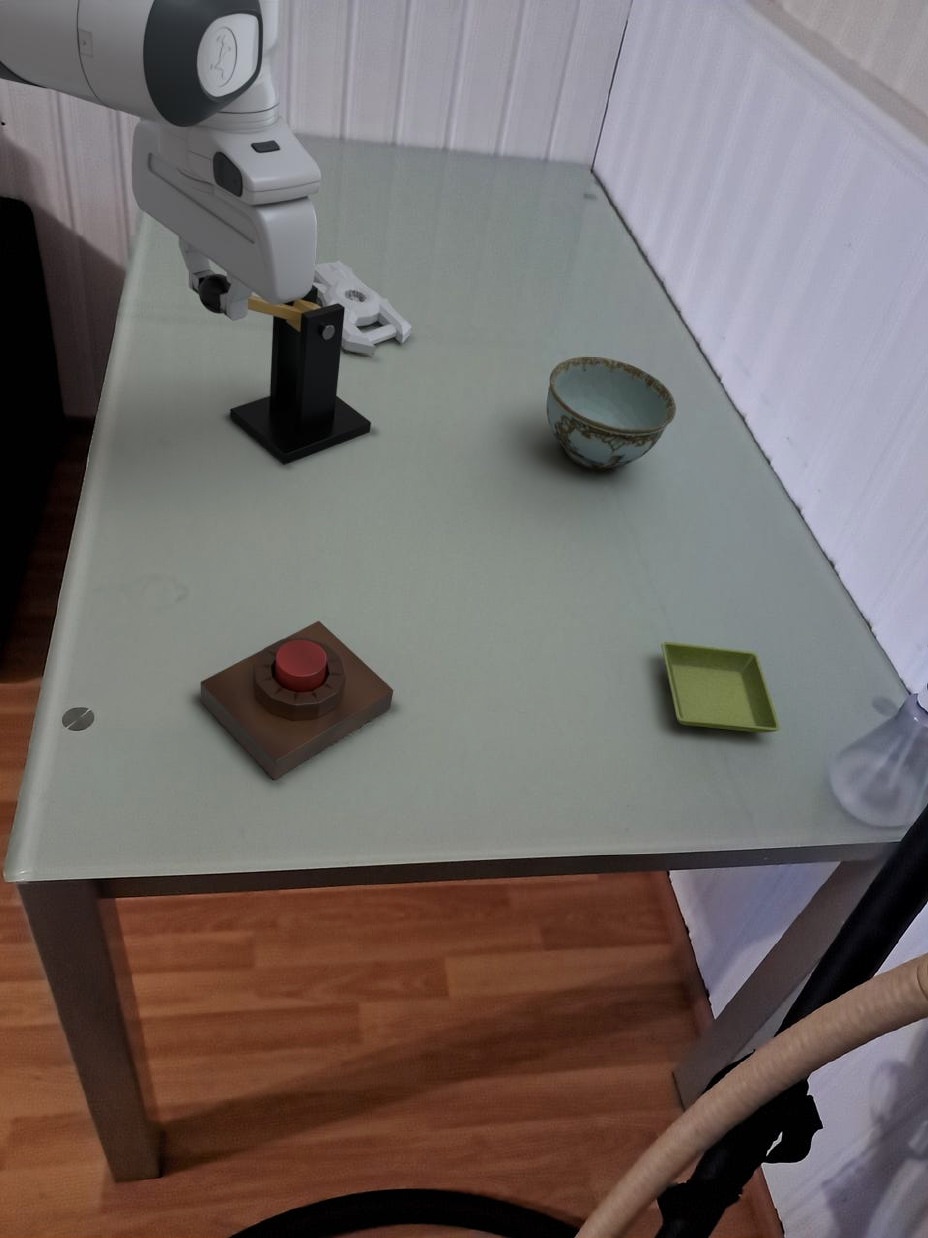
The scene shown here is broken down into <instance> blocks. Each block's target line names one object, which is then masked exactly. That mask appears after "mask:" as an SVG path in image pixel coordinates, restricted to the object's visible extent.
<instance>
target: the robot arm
mask: <svg viewBox="0 0 928 1238" xmlns="http://www.w3.org/2000/svg"><path fill="white" fill-rule="evenodd" d="M283 24H284V0H0V79H1V80H5V81H8V82H9V81H10V82H14V83H17V84H18V83H19V84H24V85H28V86H32V87H36V88H41V89H49V90H53V91H55V92H59V93H62V94H64V95H68V96H71V97H73V98H77V99H79V100H82V101H85V102H89V103H92V104H95V105H98V106H101V107H105V108H107V109H110V110H113V111H119V112H123V113H126V114H128V115H132V116H135V117H138V118H139V121H138V122H137V123H136V125H135V127H134V130H133V135H132V149H131V190H132V194H133V196H134V199H135V203H136V204H137V206H138V208H139V209H141V210H142V211H143V212H145V213H146V214H147V215H148V216H150V217H151V218H153V219H154V220H155V221H157V222H158V223H160V224H161V225H162V226H164V227H165V228H166V229H168V230H169V231H170V232H172V233H173V234H174V235H175V236H177V237H178V247H179V250H180V253H181V256H182V258H183V261H184V263H185V267H186V269H187V271H188V287H189V289H191V290H192V291H193V292H194V293H196V294H197V295H198V296H199V287H200V284H201V282H202V281H203V280H204V278H206V277H207V276H209V275H212V274H217V273H216V272H215V271H213V270H212V267H211V264H210V261H211V262H212V263H213V264H215V265H216V266H217V267H219V268H221V269H222V270H223V271H224V272H226V276H227V281H228V282H229V283H231V286H230V289H229V291H228V293H224V294H220V303H221V306H220V311H221V312H222V313H223V315H224V316H226V317H227V318H228V319H229V320H230V321H238V320H242V319H244V318H246V317H247V316H248V314H249V309H248V298H249V297H250V296H251V295H252V294H253V293H254V294H256V295H257V297H259V298H263V299H264V300H265V301H266V302H268V303H269V304H271V305H279V304H283V303H287V302H291V301H295V300H298V299H301V298H303V297H304V296H306V294H307V293H308V292H309V291H310V290H311V288H312V285H313V280H314V272H315V264H316V260H317V243H318V237H317V236H318V224H317V223H318V222H317V213H316V209H315V206H314V205H313V202H312V200H311V199H310V198H309V196H312V195H315V194H317V193H319V191H320V188H321V179H322V178H321V176H322V175H321V169H320V166H319V165H318V164H317V162H316V161H315V159H313V157H312V156H311V155H310V154H309V152H308V151H307V150H306V149H305V147H304V146H303V145H302V144H301V143H300V141H299V140H298V139H297V137H296V136H295V134H294V132H293V131H292V130H291V128H290V126H289V125H288V123H287V121H286V120H285V118H284V117H282V116H281V115H280V102H281V101H280V99H281V97H280V95H281V94H280V87H279V82H278V79H277V72H276V61H277V56H278V55H277V54H278V50H279V46H280V44H281V40H282V38H283V37H282V36H283Z"/></svg>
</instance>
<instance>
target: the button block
mask: <svg viewBox="0 0 928 1238" xmlns="http://www.w3.org/2000/svg"><path fill="white" fill-rule="evenodd" d="M293 640H307V641H311V642H313V643H315V644H317V645H319V646H320V647H321V648H322V649H323V651H324V652H325V654H326V669H325V677H324V680H323V681H322V683H321V684H320V685H319V686H318V687H316V688H315V689H313V690H310V691H305V692H296V691H292V690H289V689H287V688H285V687H283V686H282V685H281V684H280V683H279V682H278V680H277V679H276V676H275V664H276V654H277V651H278V650H279V648H280V647H281V646H282V645H284V644H285V643H287V642H290V641H293ZM199 684H200V702H201V703H202V704H203V705H204V706H205V707H206V708H207V710H208V711H210V713H211V714H212V715H213V716H214V717H215V718H216V719H217V720H218V722H219V723H220V724H222V726H223V727H224V728H225V729H226V730H227V731H228V732H229V733H230V734H231V735H232V737H233V738H234V739H236V741H238V743H239V744H240V745H241V746H242V747H243V748H244V749H245V750H246V751H247V752H248V754H249V755H250V756H251V757H252V758H253V759H254V760H255V761H256V762H257V763H258V764H259V765H260V766H261V768H262V769H263V770H264V771H265V773H267V774H268V775H269V776H270V777H271V778H272V779H273V780H274V781H276V780H277V779H279V778H281V777H282V776H284V775H285V774H287V773H288V772H290V771H292V770H293V769H295V768H297V767H298V766H300V765H301V764H303V763H305V762H306V761H308V760H309V759H312V758H313V757H315V756H316V755H317V754H319V753H320V752H322V751H324V750H326V749H327V748H329V747H330V746H332V745H333V744H335V743H337V742H339V741H340V740H342V739H344V738H345V737H347V736H349V735H350V734H351V733H353V732H355V731H356V730H358V729H360V728H361V727H363V726H364V725H366V724H367V723H369V722H371V721H372V720H374V719H375V718H377V717H379V716H380V715H382V714H384V713H385V712H386V711H388V710H390V709H391V707H392V700H393V695H394V688H392V687H391V686H390V685H389V684H388V683H387V682H386V681H385V680H384V679H382V678H381V677H380V676H379V674H377V673H376V672H375V671H374V670H373V669H371V668H370V666H368V665H367V664H366V663H365V662H364V661H363V660H362V659H361V658H360V657H359V656H357V655H356V654H355V653H354V652H353V651H352V650H351V649H350V648H349V647H348V646H347V645H346V644H345V643H344V642H342V640H341V639H339V638H338V637H337V635H335V634H334V633H333V632H332V631H331V630H330V629H329V628H328V627H326V625H325V624H323V623H322V622H321V621H320V620H317V621H315V622H313V623H311V624H309V625H307V626H306V627H304V628H302V629H300V630H298V631H296V632H294V633H292V634H290V635H288V636H286V637H284V638H281V639H279V640H277V641H275V642H273V643H272V644H269V645H268V646H266V647H264V648H262V649H261V650H259V651H257V652H256V653H255V652H254V654H252V655H250V656H248V657H246V658H243V659H242V660H239V661H238V662H236V663H234V664H233V665H230V666H228V667H227V668H224V669H223V670H221V671H219V672H217V673H215V674H213V675H211V676H209V677H207V678H205V679H203V680H202V681H200V683H199Z"/></svg>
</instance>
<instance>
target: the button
mask: <svg viewBox="0 0 928 1238" xmlns="http://www.w3.org/2000/svg"><path fill="white" fill-rule="evenodd" d="M325 669H326V654H325V652H324V651H323V649H322V648H321V647H320V646H319V645H317V644H315V643H313V642H311V641H307V640H293V641H290V642H287V643H285V644H284V645H282V646H281V647H280V648H279V650H278V651H277V654H276V664H275V676H276V679H277V680H278V682H279V683H280V684H281V685H282V686H283V687H285V688H287V689H289V690H292V691H296V692H305V691H310V690H313V689H315V688H316V687H318V686H319V685H320V684H321V683H322V681H323V680H324V677H325Z"/></svg>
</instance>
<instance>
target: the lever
mask: <svg viewBox="0 0 928 1238" xmlns="http://www.w3.org/2000/svg"><path fill="white" fill-rule="evenodd" d="M230 286H231V283H229V282H228V281H227V275H225V274H221V273H216V274H212V275H209V276H207V277H206V278H204V280H203V281H202V282H201V284H200V287H199V295H198V297H199V300H200V302H201V304H202V306H203V307H204V308H205V309H206V310H208V311H209V312H211V313H213V314H219V315H220V314H221V315H222V314H223V313H222V312H221V311H220V306H221V303H220V294H224V293H228V291H229V289H230ZM318 308H322V307H321V306H320V305H319V304H318V303H317V304H315V303H311V302H308V301H304V300H301V299H298V300H295V302H294V304H293V306H288V305H285V304H279V305H271V304H269V303H268V302H266V301H265V300H264V299H263V298H261V297H260V296H256V295H252V294H251V296H250V297H249V298H248V311H253V312H256V313H260V314H264V315H269V316H271V317H273V316H275V317H279V318H283V319H287V321H286V322H287V323H288V324H290V325H291V326H292V327H294V328H295V329H296V330H298V331H299V332H300V326H301V313H304V312H307V311H311V310H315V309H318ZM223 315H224V314H223Z"/></svg>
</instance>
